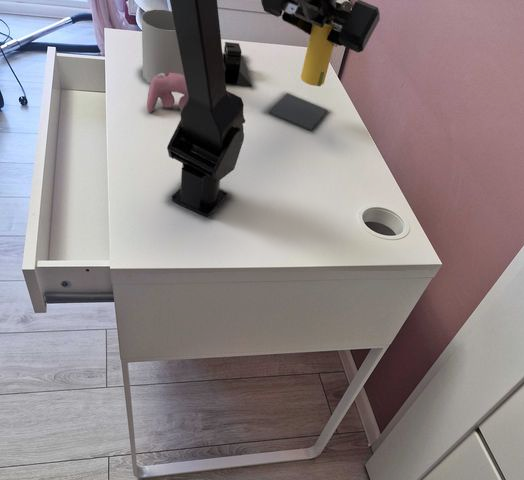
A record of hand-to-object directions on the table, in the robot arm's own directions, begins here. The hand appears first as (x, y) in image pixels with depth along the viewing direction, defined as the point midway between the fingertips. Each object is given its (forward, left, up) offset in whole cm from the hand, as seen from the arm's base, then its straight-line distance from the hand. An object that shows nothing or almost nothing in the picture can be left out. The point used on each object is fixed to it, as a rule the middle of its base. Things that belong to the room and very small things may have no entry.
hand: (325, 39), depth 87 cm
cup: (-8, +28, -14) cm, 32 cm away
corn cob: (-1, 0, -7) cm, 7 cm away
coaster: (-1, +2, -14) cm, 14 cm away
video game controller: (-17, +20, -14) cm, 29 cm away
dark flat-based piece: (+4, +19, -14) cm, 24 cm away
